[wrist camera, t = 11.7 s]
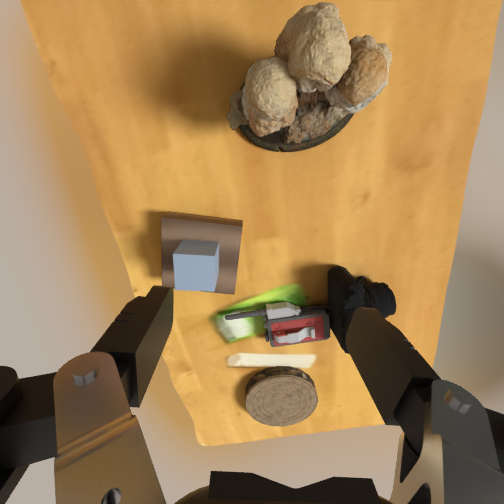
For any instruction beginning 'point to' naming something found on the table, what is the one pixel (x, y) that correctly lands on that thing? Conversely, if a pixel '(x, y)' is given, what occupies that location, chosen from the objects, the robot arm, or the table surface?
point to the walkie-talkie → (291, 323)
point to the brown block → (202, 229)
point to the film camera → (354, 300)
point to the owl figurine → (309, 82)
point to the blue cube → (196, 265)
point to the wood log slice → (281, 396)
